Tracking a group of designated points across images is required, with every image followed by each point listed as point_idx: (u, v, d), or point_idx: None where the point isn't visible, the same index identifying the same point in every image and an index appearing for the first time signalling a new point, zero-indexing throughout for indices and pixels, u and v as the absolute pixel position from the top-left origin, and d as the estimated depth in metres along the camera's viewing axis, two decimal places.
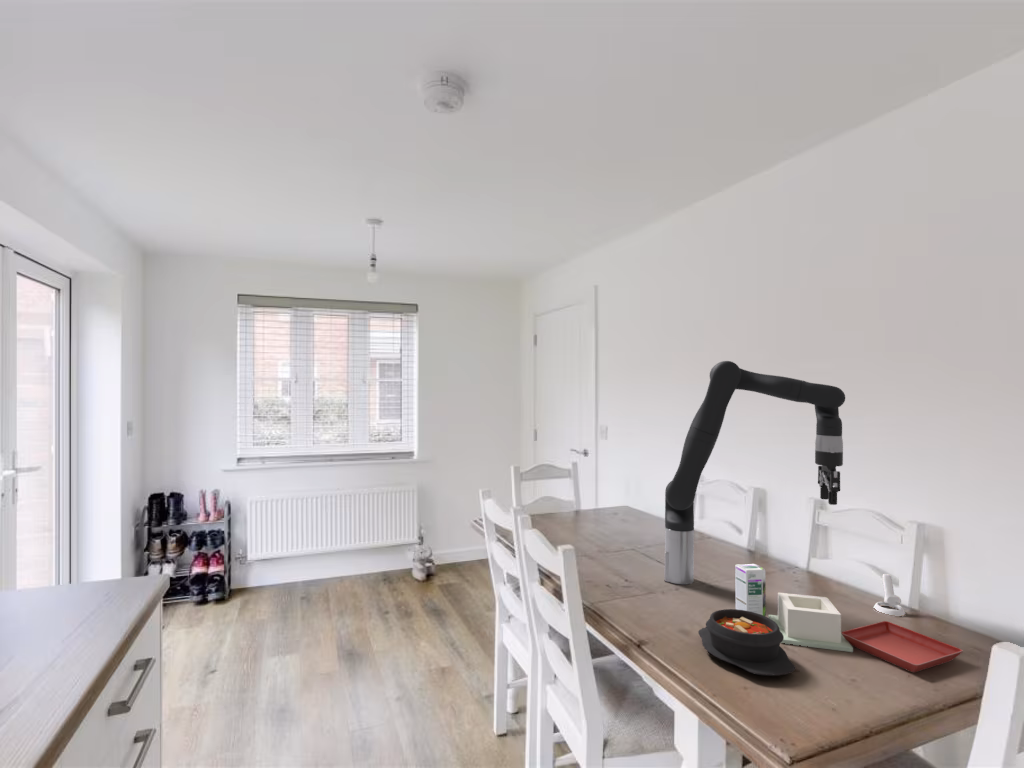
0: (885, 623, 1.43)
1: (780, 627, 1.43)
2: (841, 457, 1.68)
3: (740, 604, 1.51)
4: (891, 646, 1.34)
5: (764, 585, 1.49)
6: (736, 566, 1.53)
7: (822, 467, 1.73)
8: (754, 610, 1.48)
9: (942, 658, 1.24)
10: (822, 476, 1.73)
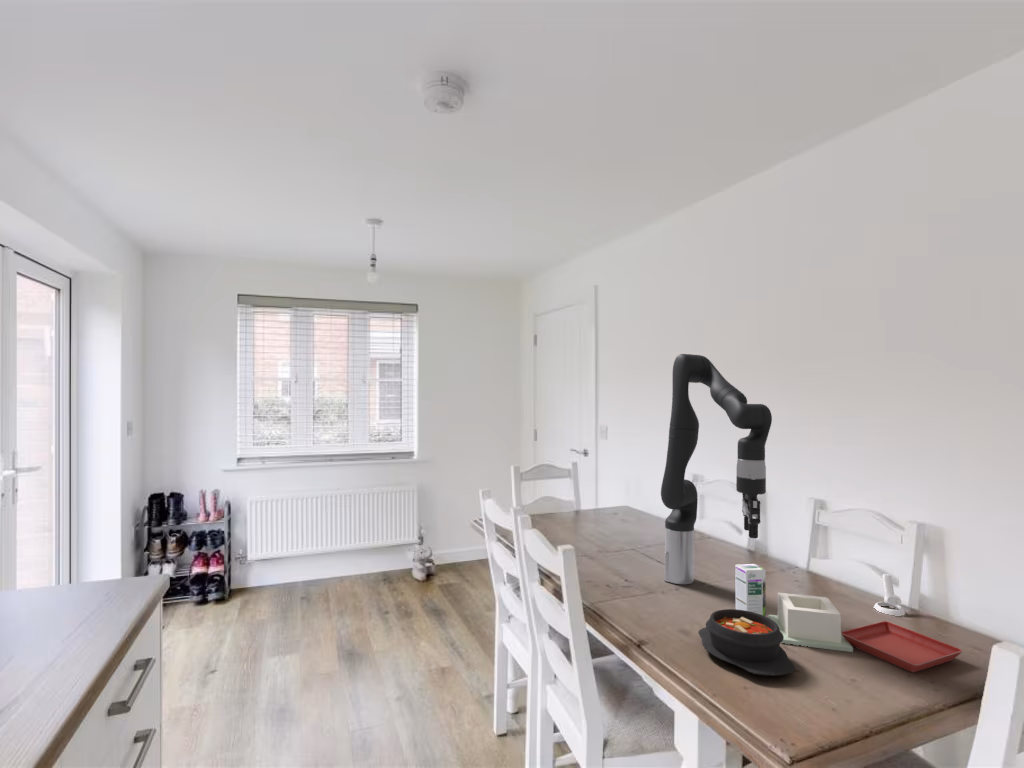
0: (885, 623, 1.43)
1: (780, 627, 1.43)
2: (763, 484, 1.49)
3: (740, 604, 1.51)
4: (891, 646, 1.34)
5: (764, 585, 1.49)
6: (736, 566, 1.53)
7: (745, 494, 1.54)
8: (754, 610, 1.48)
9: (942, 658, 1.24)
10: None
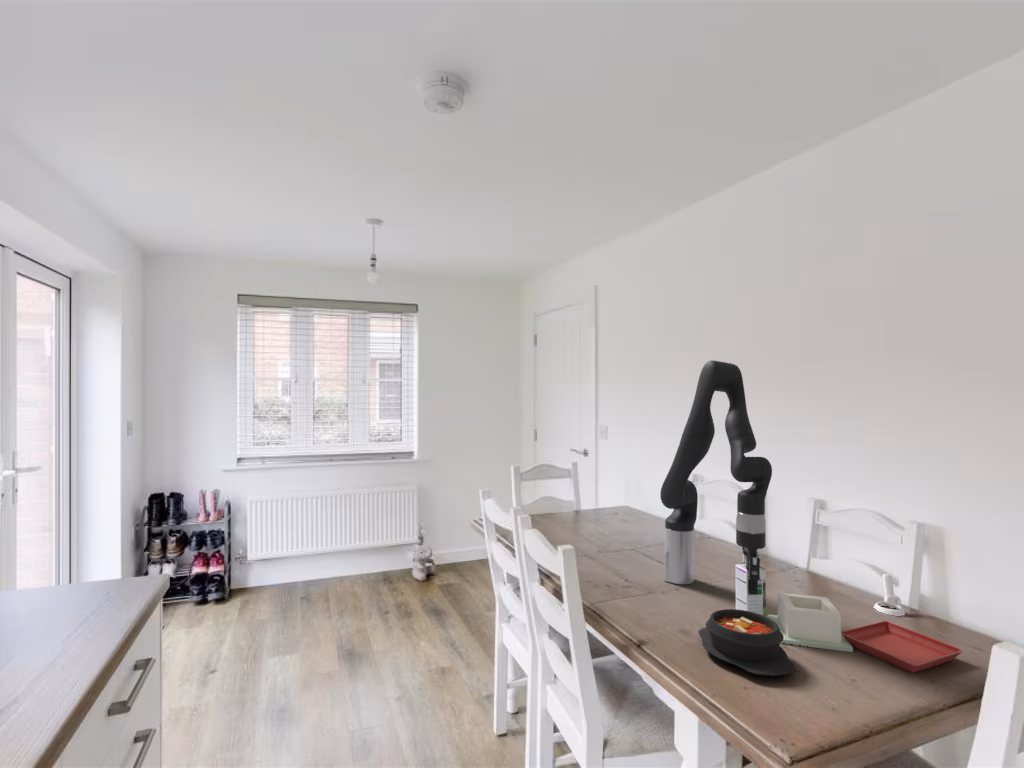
0: (885, 623, 1.43)
1: (780, 627, 1.43)
2: (763, 538, 1.48)
3: (741, 604, 1.51)
4: (891, 646, 1.34)
5: (764, 585, 1.49)
6: (736, 566, 1.53)
7: (744, 546, 1.54)
8: (754, 610, 1.48)
9: (942, 658, 1.24)
10: None
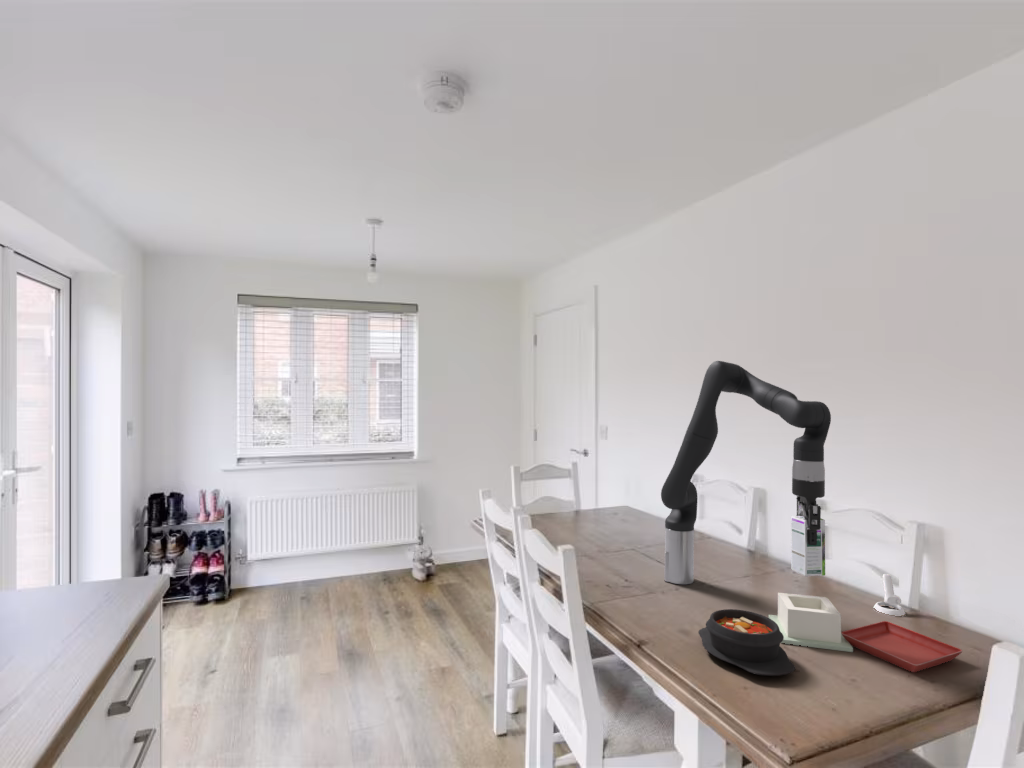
0: (885, 623, 1.43)
1: (780, 627, 1.43)
2: (822, 487, 1.40)
3: (798, 557, 1.42)
4: (891, 646, 1.34)
5: (823, 536, 1.40)
6: (792, 517, 1.44)
7: (801, 497, 1.45)
8: (813, 562, 1.39)
9: (942, 658, 1.24)
10: (801, 509, 1.44)
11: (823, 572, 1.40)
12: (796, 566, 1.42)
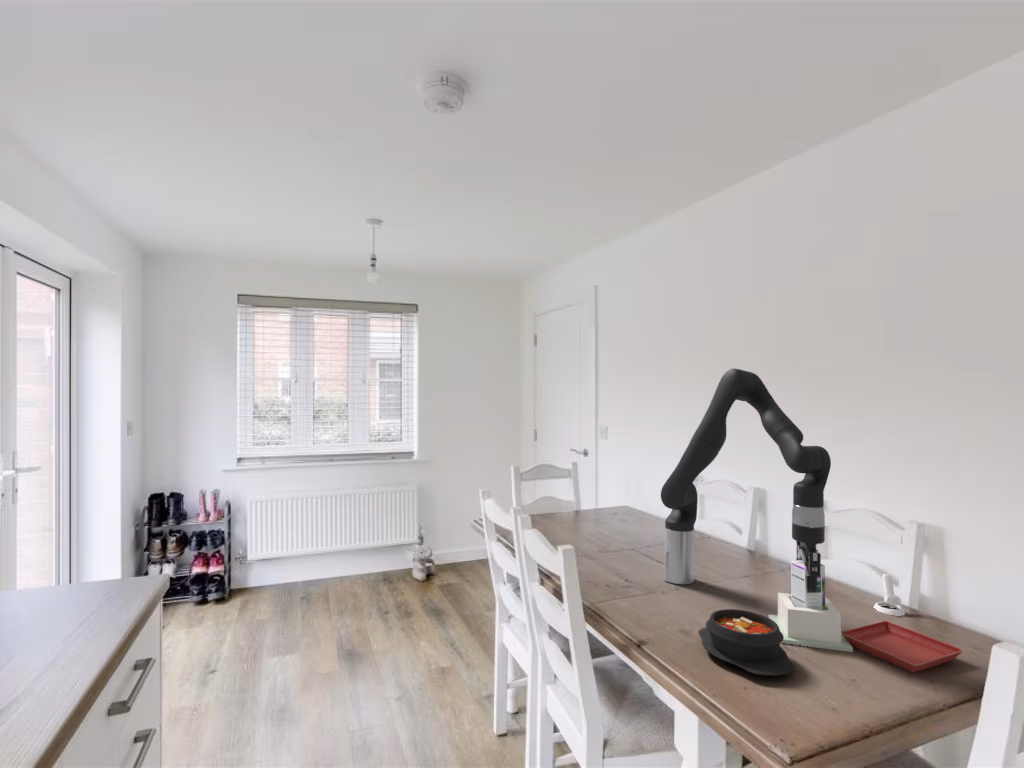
0: (885, 623, 1.43)
1: (780, 627, 1.43)
2: (822, 533, 1.39)
3: (798, 602, 1.42)
4: (891, 646, 1.34)
5: (823, 582, 1.40)
6: (792, 562, 1.44)
7: (800, 541, 1.45)
8: None
9: (942, 658, 1.24)
10: (800, 553, 1.44)
11: None
12: None
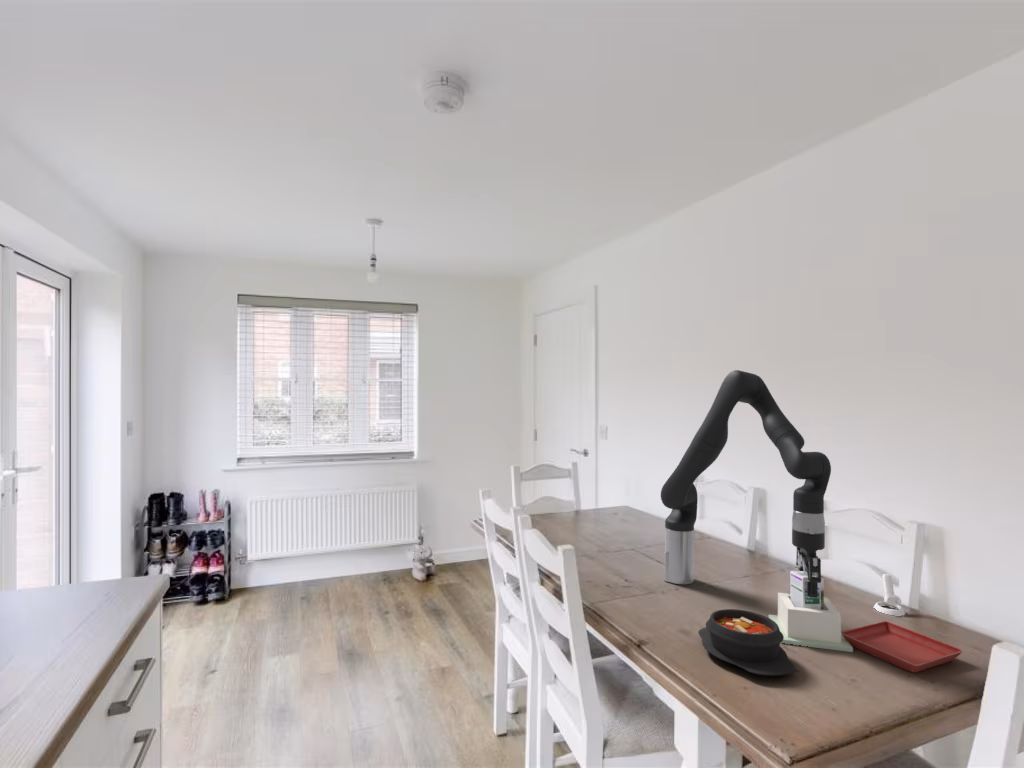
0: (885, 623, 1.43)
1: (780, 627, 1.43)
2: (822, 539, 1.39)
3: None
4: (891, 646, 1.34)
5: (822, 594, 1.40)
6: (791, 573, 1.45)
7: (801, 548, 1.45)
8: None
9: (942, 658, 1.24)
10: (800, 559, 1.44)
11: None
12: None
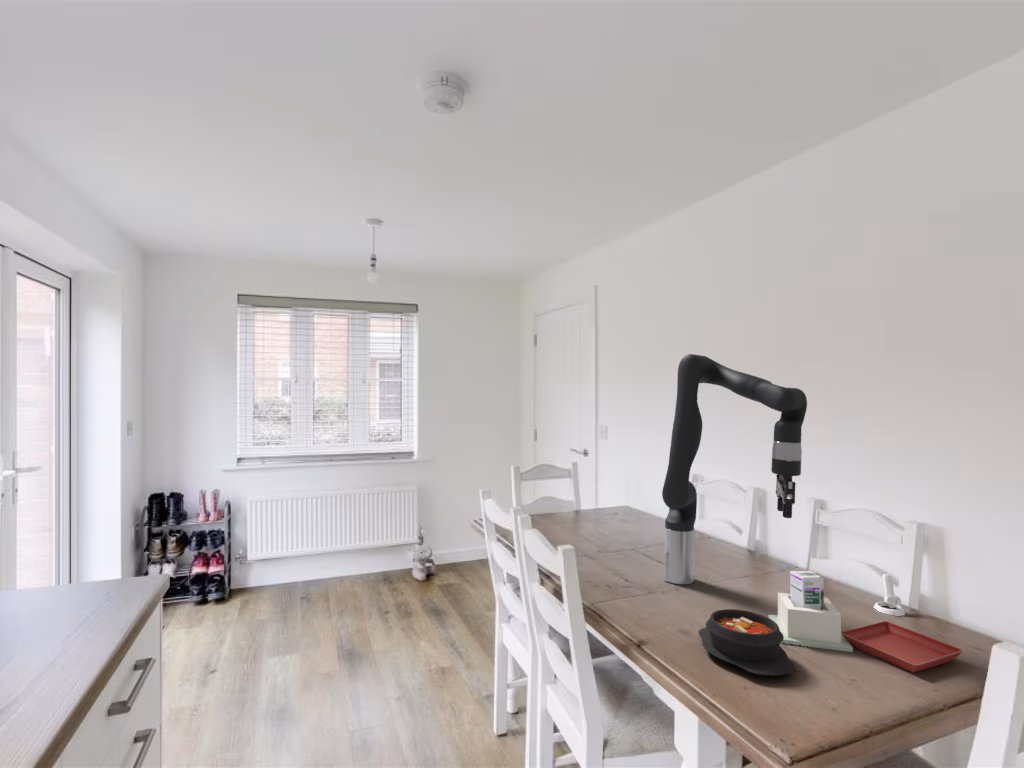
0: (885, 623, 1.43)
1: (780, 627, 1.43)
2: (799, 466, 1.52)
3: None
4: (891, 646, 1.34)
5: (822, 594, 1.40)
6: (791, 573, 1.45)
7: (779, 476, 1.58)
8: None
9: (942, 658, 1.24)
10: (779, 486, 1.57)
11: None
12: None
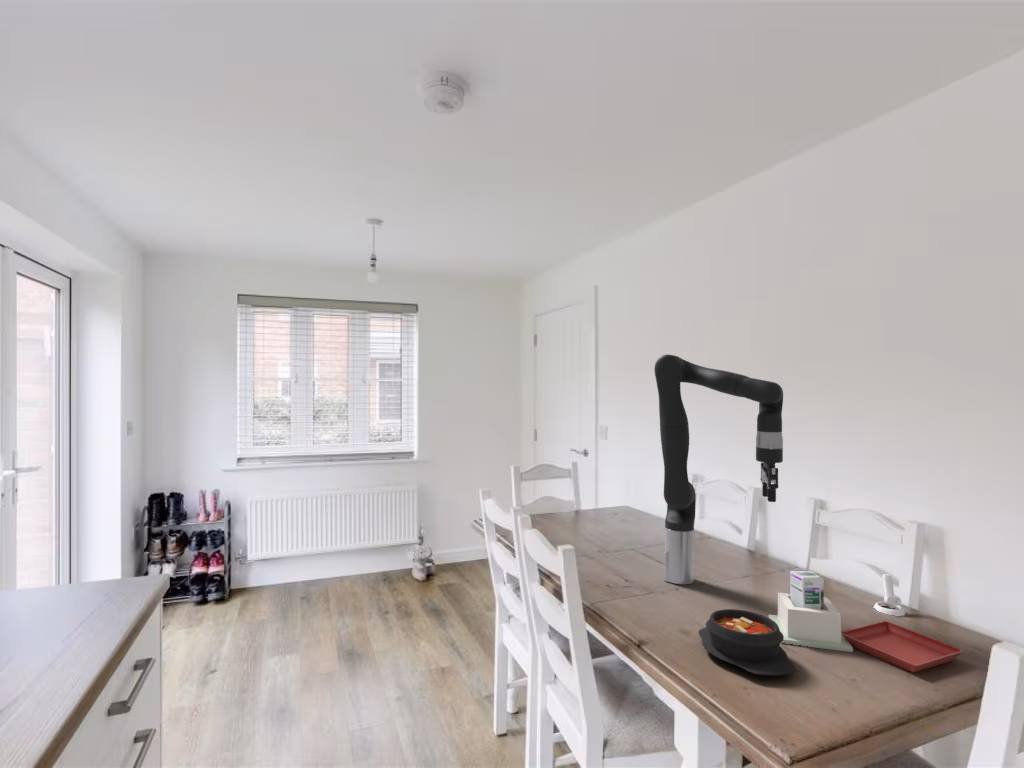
0: (885, 623, 1.43)
1: (780, 627, 1.43)
2: (780, 453, 1.65)
3: None
4: (891, 646, 1.34)
5: (822, 594, 1.40)
6: (791, 573, 1.45)
7: (763, 464, 1.71)
8: None
9: (942, 658, 1.24)
10: None
11: None
12: None
